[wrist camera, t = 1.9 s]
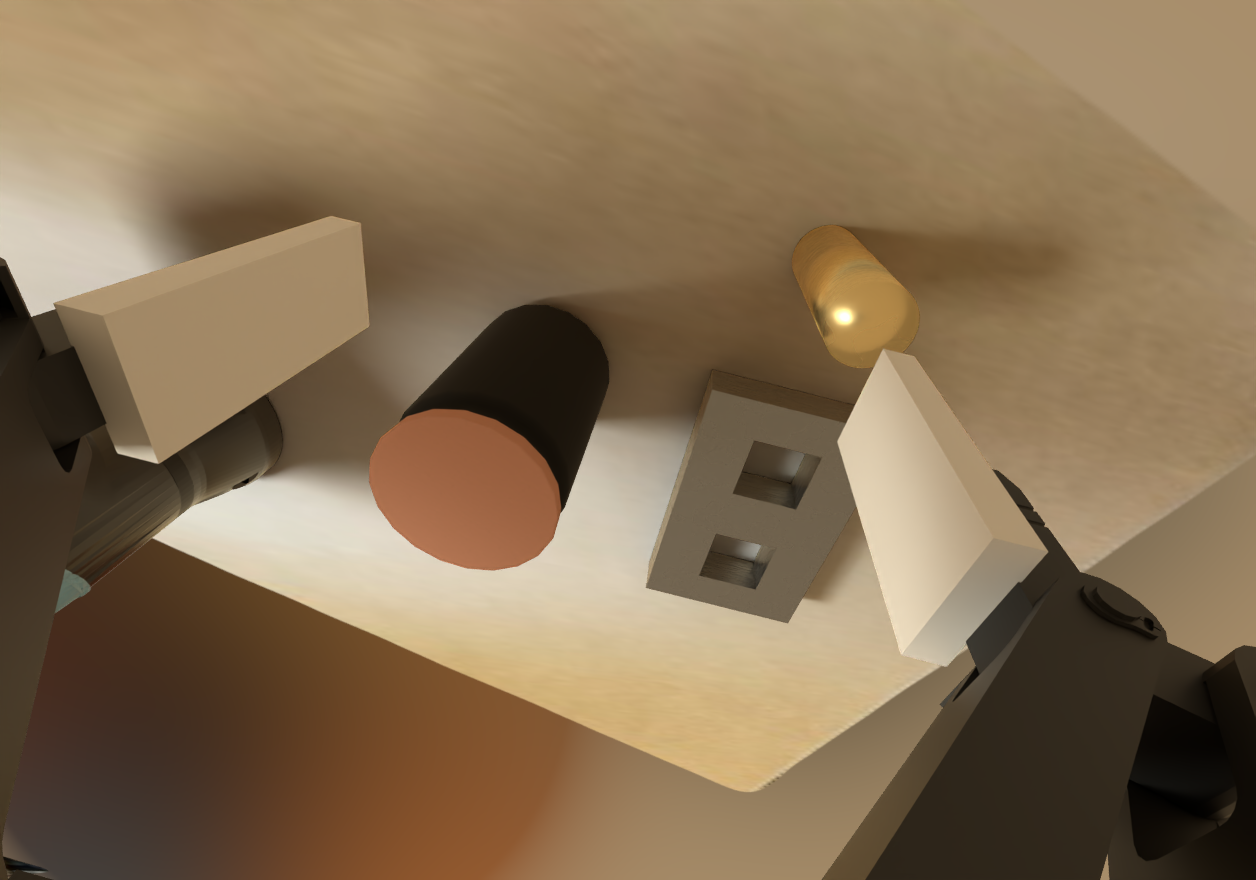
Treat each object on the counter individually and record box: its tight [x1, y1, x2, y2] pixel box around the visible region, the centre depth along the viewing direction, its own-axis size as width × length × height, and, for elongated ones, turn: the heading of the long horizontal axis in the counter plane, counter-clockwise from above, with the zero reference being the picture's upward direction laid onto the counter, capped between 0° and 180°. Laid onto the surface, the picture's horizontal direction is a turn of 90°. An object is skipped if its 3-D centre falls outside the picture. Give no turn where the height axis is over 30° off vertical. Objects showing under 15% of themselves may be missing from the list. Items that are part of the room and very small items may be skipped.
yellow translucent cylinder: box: [792, 225, 920, 368], centre depth 32 cm, size 4×4×13 cm
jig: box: [646, 370, 856, 623], centre depth 47 cm, size 14×22×4 cm, turn 168°
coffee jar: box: [369, 305, 609, 570], centre depth 37 cm, size 11×11×18 cm
